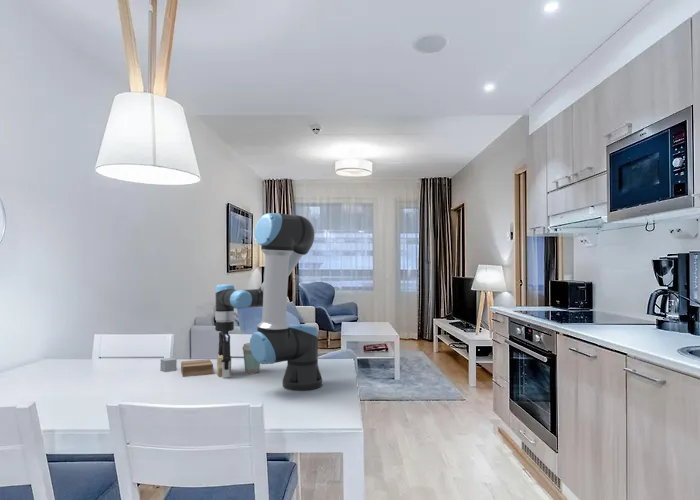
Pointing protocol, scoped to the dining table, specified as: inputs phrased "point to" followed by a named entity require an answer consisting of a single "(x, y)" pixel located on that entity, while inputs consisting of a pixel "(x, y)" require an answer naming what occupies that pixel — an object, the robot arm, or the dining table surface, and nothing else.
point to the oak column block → (220, 364)
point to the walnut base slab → (196, 367)
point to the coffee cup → (250, 360)
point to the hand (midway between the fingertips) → (224, 374)
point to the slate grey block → (168, 364)
